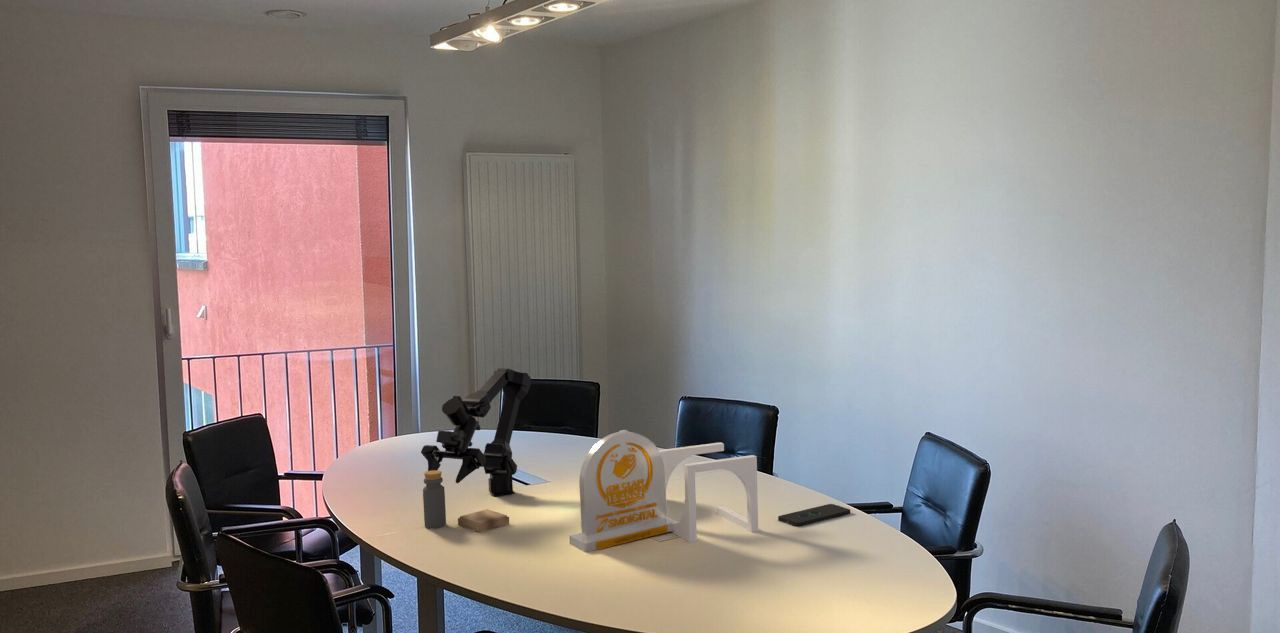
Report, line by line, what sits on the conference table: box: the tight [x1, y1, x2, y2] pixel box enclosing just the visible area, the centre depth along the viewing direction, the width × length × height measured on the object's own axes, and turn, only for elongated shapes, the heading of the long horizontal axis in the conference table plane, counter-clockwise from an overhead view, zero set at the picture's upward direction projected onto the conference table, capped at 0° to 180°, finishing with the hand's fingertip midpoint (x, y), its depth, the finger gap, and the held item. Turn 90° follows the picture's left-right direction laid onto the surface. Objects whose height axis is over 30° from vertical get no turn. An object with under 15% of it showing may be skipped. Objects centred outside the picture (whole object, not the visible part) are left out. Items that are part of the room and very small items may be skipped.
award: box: [568, 430, 679, 553], centre depth 258 cm, size 28×9×28 cm, turn 122°
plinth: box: [457, 508, 510, 533], centre depth 274 cm, size 10×10×2 cm
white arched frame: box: [658, 441, 759, 544], centre depth 266 cm, size 20×20×20 cm
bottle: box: [422, 469, 447, 529], centre depth 274 cm, size 6×6×15 cm
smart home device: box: [777, 503, 851, 528], centre depth 273 cm, size 8×2×20 cm
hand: (442, 481), depth 278 cm, fingers open, 9 cm apart
